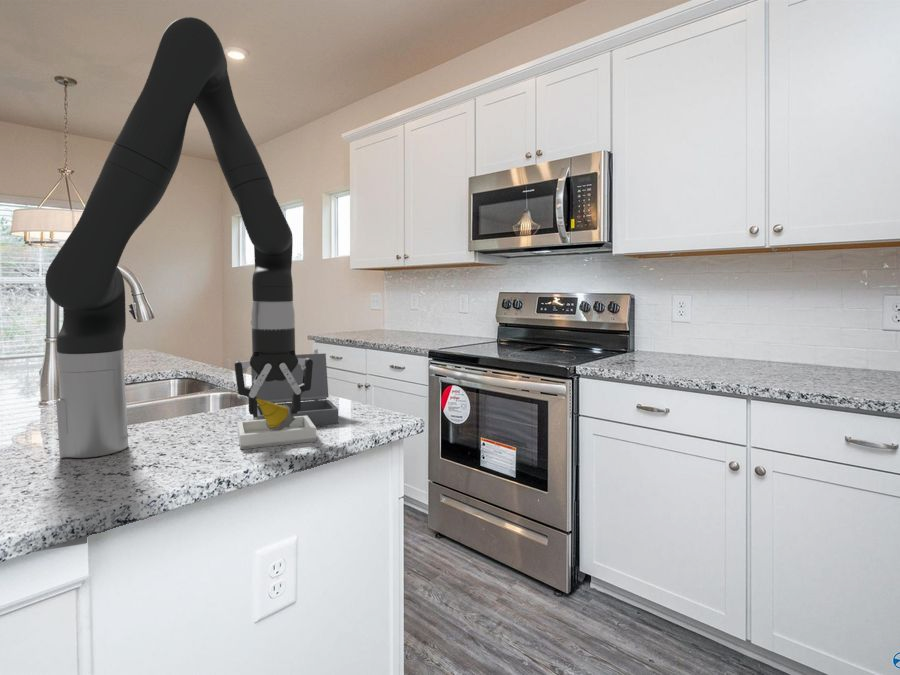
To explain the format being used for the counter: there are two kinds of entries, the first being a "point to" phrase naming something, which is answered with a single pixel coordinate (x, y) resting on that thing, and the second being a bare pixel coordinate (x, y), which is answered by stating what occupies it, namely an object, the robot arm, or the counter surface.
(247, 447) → the tray
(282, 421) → the drill bit
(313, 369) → the lid
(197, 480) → the counter surface
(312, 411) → the case
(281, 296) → the robot arm
